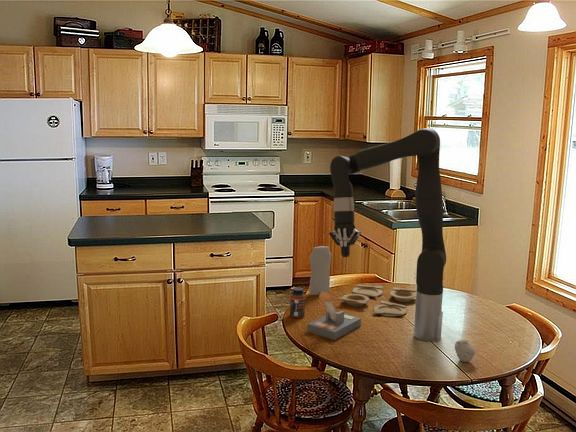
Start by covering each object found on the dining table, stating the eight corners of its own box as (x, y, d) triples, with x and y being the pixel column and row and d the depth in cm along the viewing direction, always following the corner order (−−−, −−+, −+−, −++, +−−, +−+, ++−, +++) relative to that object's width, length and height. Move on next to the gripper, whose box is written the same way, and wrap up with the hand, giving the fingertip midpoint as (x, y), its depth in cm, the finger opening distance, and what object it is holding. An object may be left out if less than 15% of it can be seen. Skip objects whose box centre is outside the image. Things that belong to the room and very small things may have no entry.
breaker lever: (341, 318, 208) (331, 293, 200) (338, 323, 206) (327, 298, 198) (332, 315, 210) (322, 291, 202) (329, 320, 209) (318, 296, 201)
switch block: (360, 325, 212) (361, 308, 210) (334, 340, 198) (335, 321, 196) (334, 318, 219) (335, 301, 218) (307, 331, 205) (307, 313, 204)
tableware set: (359, 286, 262) (359, 278, 261) (421, 296, 249) (422, 287, 248) (332, 309, 231) (332, 299, 230) (401, 321, 218) (402, 311, 217)
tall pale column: (328, 291, 252) (329, 244, 248) (332, 293, 249) (333, 246, 245) (306, 293, 248) (308, 245, 244) (310, 296, 245) (312, 247, 241)
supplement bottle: (298, 319, 216) (299, 292, 214) (286, 316, 220) (287, 288, 218) (307, 315, 221) (308, 288, 219) (295, 312, 225) (296, 285, 223)
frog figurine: (462, 355, 188) (464, 335, 186) (478, 363, 182) (480, 343, 180) (449, 358, 185) (450, 338, 184) (465, 367, 179) (466, 346, 177)
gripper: (323, 211, 207) (325, 257, 207) (353, 209, 199) (355, 257, 198) (334, 211, 213) (336, 256, 213) (364, 209, 205) (366, 256, 204)
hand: (345, 256), depth 205 cm, fingers closed
